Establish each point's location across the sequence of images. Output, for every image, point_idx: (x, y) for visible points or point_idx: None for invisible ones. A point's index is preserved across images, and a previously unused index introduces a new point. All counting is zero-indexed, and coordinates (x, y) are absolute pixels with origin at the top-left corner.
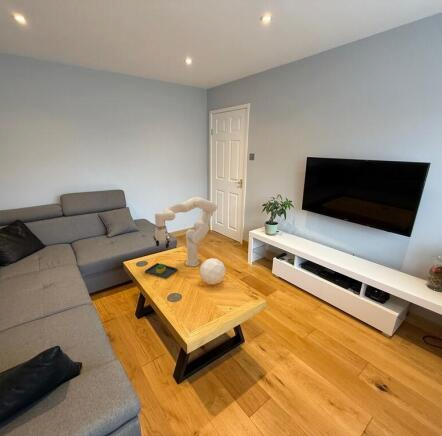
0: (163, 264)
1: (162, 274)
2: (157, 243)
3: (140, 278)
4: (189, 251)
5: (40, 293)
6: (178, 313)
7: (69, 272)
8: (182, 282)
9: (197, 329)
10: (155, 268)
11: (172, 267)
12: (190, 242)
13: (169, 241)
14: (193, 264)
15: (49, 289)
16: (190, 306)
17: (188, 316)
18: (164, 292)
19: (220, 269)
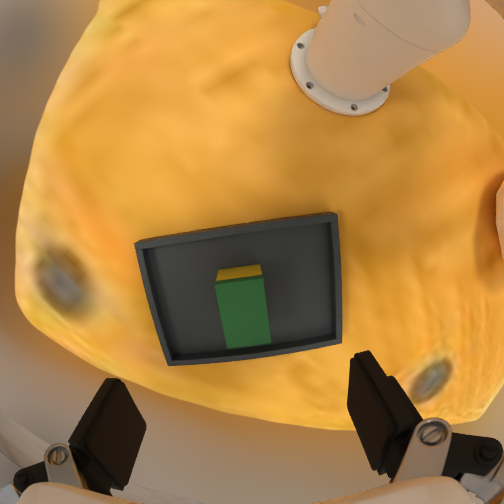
0: (244, 286)
1: (284, 319)
2: (126, 451)
3: (204, 399)
4: (411, 61)
5: None
6: (457, 404)
7: (20, 429)
8: (424, 298)
9: (493, 394)
10: (177, 290)
11: (295, 225)
12: (463, 2)
13: (485, 463)
14: (375, 94)
15: None
16: (478, 369)
17: (477, 391)
18: None
19: None
